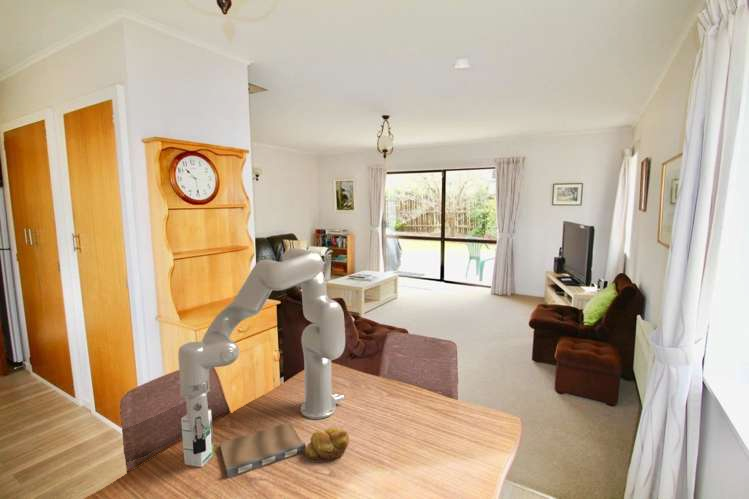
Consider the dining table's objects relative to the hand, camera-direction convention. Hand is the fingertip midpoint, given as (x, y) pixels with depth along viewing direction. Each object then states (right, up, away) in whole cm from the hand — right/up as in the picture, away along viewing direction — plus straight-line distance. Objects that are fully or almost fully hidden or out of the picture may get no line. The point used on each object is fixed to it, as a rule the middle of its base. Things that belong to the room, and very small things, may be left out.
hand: (198, 443), depth 109 cm
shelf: (+17, -4, +6) cm, 18 cm away
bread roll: (+37, -5, +4) cm, 37 cm away
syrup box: (0, -5, +1) cm, 5 cm away
